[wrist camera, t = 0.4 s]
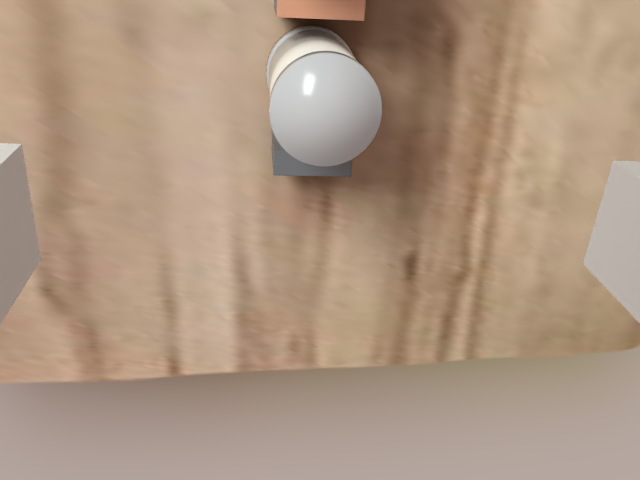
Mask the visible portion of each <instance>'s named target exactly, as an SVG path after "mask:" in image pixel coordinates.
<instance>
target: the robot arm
mask: <svg viewBox="0 0 640 480" xmlns="http://www.w3.org/2000/svg"><path fill="white" fill-rule="evenodd" d="M40 260H41V256H40V250H39V244H38V238H37V232H36V226H35V221H34V215H33V209H32V203H31V197H30V191H29V185H28V179H27V173H26V167H25V161H24V155H23V149H22V144H4V143H0V324H1V322H2V321H3V319H4V317H5V316H6V314H7V313H8V311H9V309H10V308H11V306H12V305H13V303H14V301H15V300H16V298H17V297H18V295H19V294H20V292H21V290H22V289H23V287H24V286H25V284H26V282H27V281H28V279H29V278H30V276H31V274H32V273H33V271H34V270H35V268H36V266H37V265H38V263H39V262H40ZM583 264H584V265H585V266H586V267H587V269H588V270H589V271H590V272H591V273H592V274H593V275H594V276H595V277H596V278H597V279H598V280H599V281H600V282H601V283H602V284H603V285H604V286H605V288H606V289H607V290H608V291H609V292H610V293H611V294H612V295H613V296H614V297H615V298H616V299H617V300H618V301H619V302H620V303H621V304H622V305H623V306H624V308H625V309H626V310H627V311H628V312H629V313H630V314H631V315H632V316H633V317H634V318H635V319H636V320H637V321H638V322H639V323H640V161H613V164H612V167H611V171H610V174H609V177H608V181H607V184H606V187H605V191H604V194H603V198H602V201H601V204H600V208H599V211H598V214H597V218H596V221H595V224H594V228H593V231H592V235H591V238H590V241H589V245H588V248H587V251H586V255H585V258H584V262H583Z"/></svg>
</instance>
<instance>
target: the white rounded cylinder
mask: <svg viewBox="0 0 640 480" xmlns="http://www.w3.org/2000/svg"><path fill="white" fill-rule="evenodd" d="M266 72H267V83H268V87H269V90H270V100H269V114H270V122H271V127H272V130H273V133H274V135H275V137H276V139H277V141H278V142H279V144H280V145H281V146H282V147H283V149H284V150H285V151H286V152H287V153H289V154H290V155H291V156H293V157H294V158H296V159H297V160H299V161H301V162H304V163H306V164H309V165H314V166H334V165H339V164H342V163H345V162H347V161H350V160H352V159H353V158H355V157H357V156H358V155H359V154H361V153H362V152H363V151H364V150H365V149H366V148H367V147H368V146H369V145H370V143H371V142H372V141H373V139H374V137H375V136H376V133H377V131H378V129H379V126H380V123H381V117H382V100H381V96H380V92H379V89H378V87H377V85H376V83H375V81H374V79H373V78H372V77H371V75H370V74H369V73H368V71H367V70H366V69H365V68H364V67H363V66H362V65H361V64H360V63H359V62H358V61H357V60H356V59H355V58H354V56H353V53H352V52H351V50H350V48H349V47H348V45H347V44H346V43H345V41H344V40H343V39H342V38H341V37H340V36H339V35H337V34H336V33H335V32H333V31H331V30H329V29H327V28H324V27H321V26H314V25H308V26H301V27H298V28H295V29H293V30H290V31H289V32H287V33H286V34H284V35H283V36H282V37H281V38H280V39H279V40H278V41H277V42H276V43H275V45H274V46H273V48H272V50H271V52H270V54H269V57H268V61H267V69H266Z"/></svg>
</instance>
